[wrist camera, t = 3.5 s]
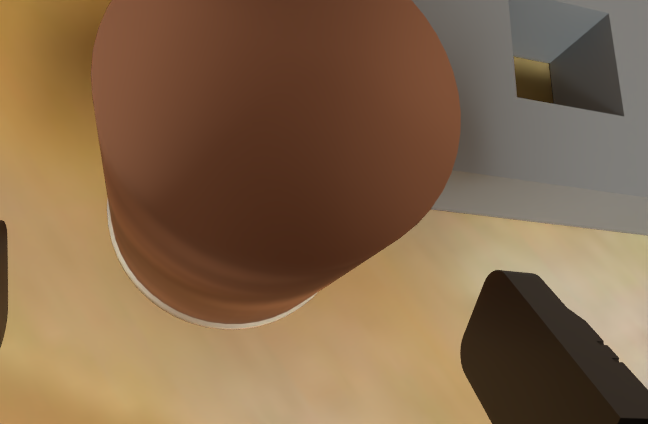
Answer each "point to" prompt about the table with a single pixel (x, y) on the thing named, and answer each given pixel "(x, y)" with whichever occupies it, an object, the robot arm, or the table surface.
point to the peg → (266, 145)
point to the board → (549, 111)
